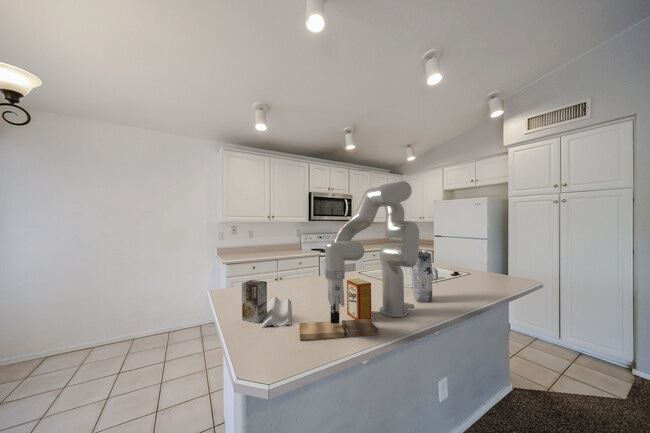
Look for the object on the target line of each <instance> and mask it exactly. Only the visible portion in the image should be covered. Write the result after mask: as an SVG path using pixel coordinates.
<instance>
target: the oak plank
mask: <svg viewBox="0 0 650 433" xmlns="http://www.w3.org/2000/svg"><path fill="white" fill-rule="evenodd" d="M298 326H299V340H300V341H308V340H309V341H311V340H323V339H324V340H325V339H336V338H337V339H339V338H341V339H342V338H345V331H344V329H343V327H342V323H341V321H339V323H335V324H332V323H331V320H329V321H315V322H314V321H312V322H299V323H298Z"/></svg>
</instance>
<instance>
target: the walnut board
mask: <svg viewBox="0 0 650 433" xmlns="http://www.w3.org/2000/svg"><path fill="white" fill-rule="evenodd" d="M341 326H342V328H343V330H344V334H345V335H346V338H352V337H367V336H368V337H369V336H378V335H379V330H378V328H377V326H376V325H375V324H374V323H373V322H372V319H359V320H355V319H347V320H346V319H345V320H344V319H342V320H341Z"/></svg>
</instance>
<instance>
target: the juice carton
mask: <svg viewBox="0 0 650 433" xmlns="http://www.w3.org/2000/svg"><path fill="white" fill-rule="evenodd" d="M421 250H422V251H418V260H417V263H416V265H415V266H413V267H411V278H412V279H411V280H412V281H411V284H412V285H411V286H412V288H411V290H412V296H413V298H414V299H415V301H416V303H417V302H418V303H432V300H433V271H432V269H433V268H432V267H433V265H432V263H433V261H432V254H431V253H430V252H429V250H428V249H421Z"/></svg>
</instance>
